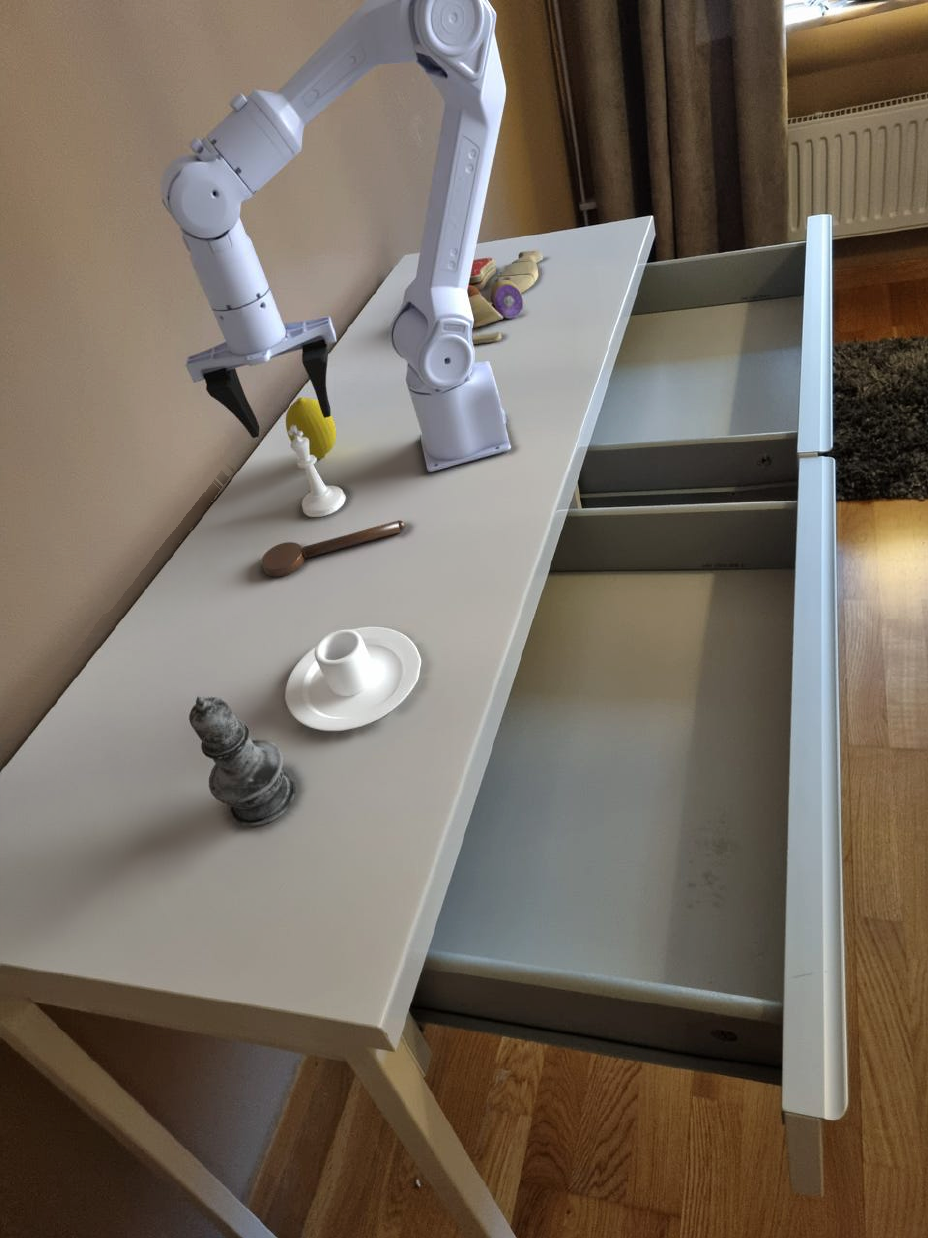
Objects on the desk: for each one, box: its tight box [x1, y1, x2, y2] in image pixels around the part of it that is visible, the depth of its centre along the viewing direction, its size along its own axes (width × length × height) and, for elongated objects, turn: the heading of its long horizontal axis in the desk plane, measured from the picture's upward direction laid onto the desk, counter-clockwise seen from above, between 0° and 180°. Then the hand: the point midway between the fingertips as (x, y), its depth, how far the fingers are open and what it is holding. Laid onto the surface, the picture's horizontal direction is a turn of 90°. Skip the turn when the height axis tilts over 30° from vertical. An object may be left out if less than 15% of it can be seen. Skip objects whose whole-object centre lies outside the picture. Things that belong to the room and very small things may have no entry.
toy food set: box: [467, 250, 544, 345], centre depth 127 cm, size 26×16×4 cm, turn 168°
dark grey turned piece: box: [188, 696, 296, 828], centre depth 65 cm, size 6×6×12 cm
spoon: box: [261, 519, 406, 578], centre depth 91 cm, size 15×4×1 cm, turn 98°
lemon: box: [285, 397, 337, 459], centre depth 103 cm, size 6×6×8 cm
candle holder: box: [284, 626, 422, 732], centre depth 75 cm, size 12×12×4 cm
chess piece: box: [287, 425, 347, 518], centre depth 95 cm, size 5×5×10 cm
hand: (291, 422), depth 91 cm, fingers open, 7 cm apart
